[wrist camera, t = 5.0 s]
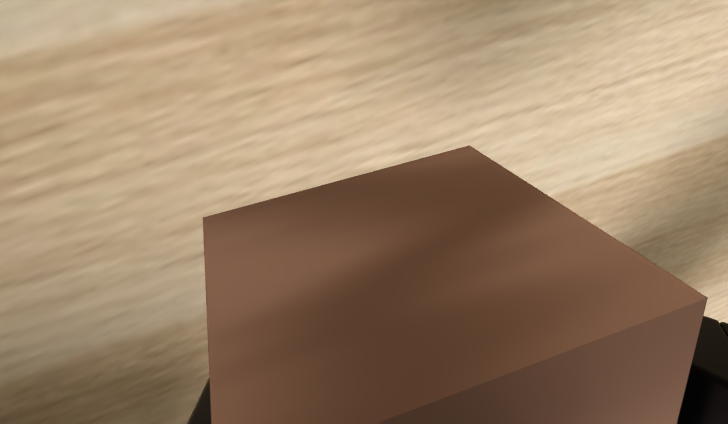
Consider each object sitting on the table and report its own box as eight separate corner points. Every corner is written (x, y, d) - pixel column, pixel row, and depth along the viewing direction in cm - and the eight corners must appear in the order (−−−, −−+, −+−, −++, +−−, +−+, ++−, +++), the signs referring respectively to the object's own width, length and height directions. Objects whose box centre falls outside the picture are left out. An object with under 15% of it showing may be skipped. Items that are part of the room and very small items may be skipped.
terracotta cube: (469, 145, 9) (707, 297, 5) (478, 340, 12) (644, 555, 7) (202, 217, 8) (214, 484, 4) (273, 413, 11) (327, 712, 6)
